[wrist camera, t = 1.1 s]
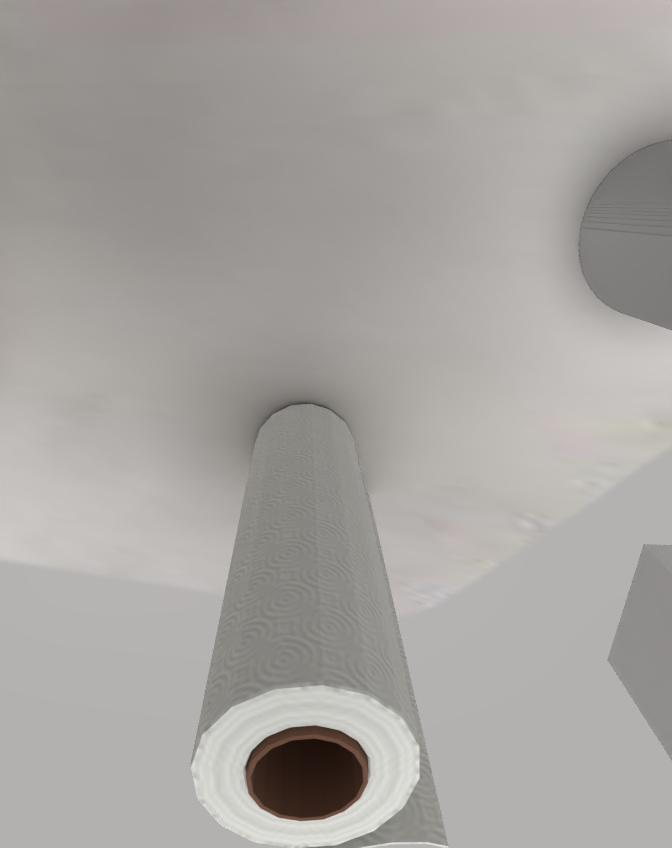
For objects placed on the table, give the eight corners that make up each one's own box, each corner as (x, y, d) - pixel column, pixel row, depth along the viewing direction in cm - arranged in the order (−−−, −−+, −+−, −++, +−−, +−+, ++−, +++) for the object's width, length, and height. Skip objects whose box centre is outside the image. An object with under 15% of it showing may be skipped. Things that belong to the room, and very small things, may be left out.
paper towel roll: (241, 415, 34) (152, 725, 14) (340, 389, 33) (397, 666, 13) (276, 518, 36) (244, 903, 16) (368, 494, 36) (450, 856, 16)
